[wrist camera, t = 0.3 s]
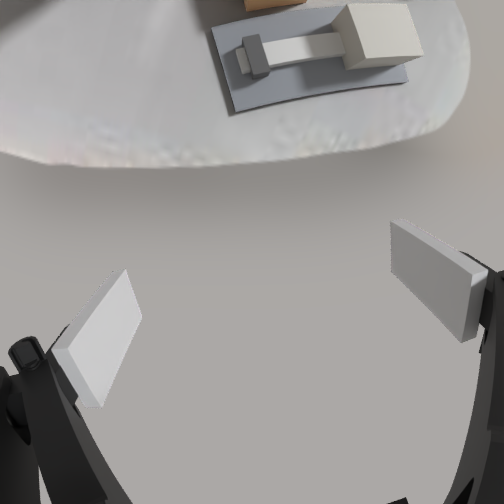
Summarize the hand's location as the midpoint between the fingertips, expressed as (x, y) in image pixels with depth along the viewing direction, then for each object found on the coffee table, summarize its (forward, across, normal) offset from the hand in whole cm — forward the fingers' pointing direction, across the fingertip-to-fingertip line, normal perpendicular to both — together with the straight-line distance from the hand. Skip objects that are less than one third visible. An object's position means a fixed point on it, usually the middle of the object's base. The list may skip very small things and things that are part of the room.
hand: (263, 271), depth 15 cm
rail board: (+27, +12, +17) cm, 34 cm away
